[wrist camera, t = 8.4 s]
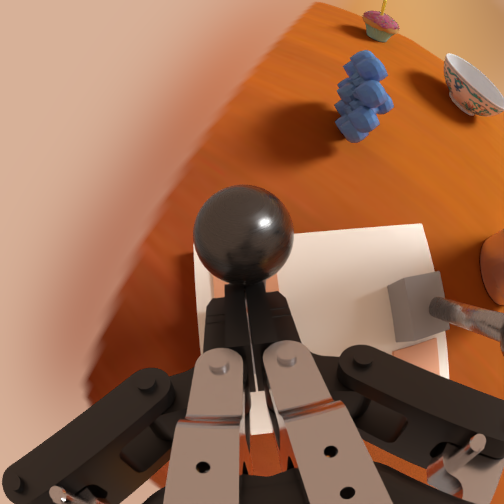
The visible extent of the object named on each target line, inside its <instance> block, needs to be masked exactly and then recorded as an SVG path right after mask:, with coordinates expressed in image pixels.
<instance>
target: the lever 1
mask: <svg viewBox="0 0 504 504" xmlns="http://www.w3.org/2000/svg"><path fill="white" fill-rule="evenodd" d="M193 240H194V246H195V250H196V252H197V255H198V257H199V259H200V261H201V263H202V264H203V265H204V267H205V268H206V269H207V270H208V271H209V272H210V273H211V274H213V275H214V276H215V277H217V278H218V279H220V280H222V281H224V282H227V283H229V284H235V285H243V288H244V296H245V304H246V312H247V320H248V328H249V336H250V343H252V342H251V334H250V327H249V318H248V309H247V300H246V290H245V285H253V284H257V283H260V282H264V286H265V290H266V280H267V279H269V278H270V277H272V276H273V275H275V274H276V273H277V272H278V271H279V270H280V269H281V268H282V267H283V266H284V264H285V263H286V261H287V259H288V258H289V256H290V253H291V250H292V247H293V241H294V229H293V223H292V220H291V217H290V214H289V212H288V211H287V209H286V207H285V206H284V204H283V203H282V202H281V201H280V200H279V199H278V198H277V197H276V196H275V195H273V194H272V193H270V192H269V191H267V190H265V189H263V188H260V187H257V186H252V185H235V186H230V187H227V188H225V189H222V190H220V191H218V192H217V193H215V194H214V195H213V196H211V197H210V198H209V199H208V200H207V201H206V202H205V203H204V205H203V206H202V208H201V209H200V211H199V213H198V215H197V217H196V220H195V224H194V230H193Z"/></svg>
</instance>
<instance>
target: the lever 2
mask: <svg viewBox="0 0 504 504" xmlns="http://www.w3.org/2000/svg"><path fill="white" fill-rule="evenodd" d="M429 313H430V315H431V316H432V317H435V318H437V319H440V320H443V321H445V322H448V323H451V324H454V325H456V326H459V327H462V328H464V329H467V330H470V331H472V332H475V333H478V334H480V335H483V336H486V337H488V338H491V339H494V340H496V341H499V342H500V347H501V351H502V354H503V356H504V314H503V313H500V312H496V311H492V310H488V309H484V308H481V307H477V306H473V305H469V304H465V303H461V302H458V301H454V300H450V299H446V298H442V297H438V296H437V297H434V298H433V299H432V301H431V302H430V305H429Z"/></svg>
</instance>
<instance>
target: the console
mask: <svg viewBox="0 0 504 504" xmlns="http://www.w3.org/2000/svg"><path fill="white" fill-rule="evenodd" d="M193 247H194V270H195V288H196V304H197V317H198V330H199V341H200V351H201V355H202V354H203V344H204V330H205V317H206V306H207V305H208V304H209V302H210V301H211V300H212V298H220V297H225V292H224V285H225V284H229V283H227V282H224V281H222V280H220V279H218V278H217V277H215V276H214V275H213V274H211V273H210V272H209V271H208V270H207V269H206V268H205V267H204V265H203V264H202V263H201V261H200V259H199V257H198V255H197V252H196V250H195V246H194V244H193ZM274 291H279V292H280V293H281V294H282V295H283V296H284V297H286V300H287V303H288V305H289V308H290V311H291V315H292V317H293V320H294V323H295V325H296V328H297V331H298V334H299V337H300V340H301V342H302V344H303V345H305V346H306V347H307V348H308V349H309V351H310V352H312V353H314V354H317V355H321V356H335V357H340V355H341V353H342V352H343V351H344V350H345V349H347V348H348V347H350V346H354V345H369V346H372V347H374V348H377V349H379V350H381V351H383V352H386V353H388V354H390V355H392V356H395V357H397V358H399V359H402V360H404V361H406V362H409V363H411V364H413V365H416V366H418V367H420V368H423V369H425V370H427V371H430V372H432V373H435V374H437V375H440V376H442V377H444V378H447V379H449V367H448V353H447V342H446V333H445V331H446V330H448V329H450V327H449V323H448V322H445V321H443V320H440V319H437V318H435V317H432V316H431V315H430V313H429V305H430V302H431V301H432V299H433V298H434V297H437V296H438V297H442V298H445V295H444V290H443V285H442V280H441V276H440V271H436V272H435V271H434V266H433V262H432V258H431V254H430V251H429V247H428V243H427V240H426V236H425V233H424V230H423V226H422V224H409V225H395V226H382V227H369V228H357V229H345V230H333V231H322V232H310V233H299V234H294V241H293V247H292V250H291V253H290V256H289V258H288V259H287V261H286V263H285V264H284V266H283V267H282V268H281V269H280V270H279V271H278V272H277V273H276V274H275V275H273V276H272V277H270V278H269V279H267V280H266V292H274ZM250 344H251V353H252V362H253V370H254V379H255V387H256V392H250V395H251V409H250V410H251V435H255V434H265V433H273V432H272V428H271V424H270V420H269V417H268V413H267V407H266V398H265V391H258V386H257V379H256V372H255V364H254V357H253V349H252V343H250Z"/></svg>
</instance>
